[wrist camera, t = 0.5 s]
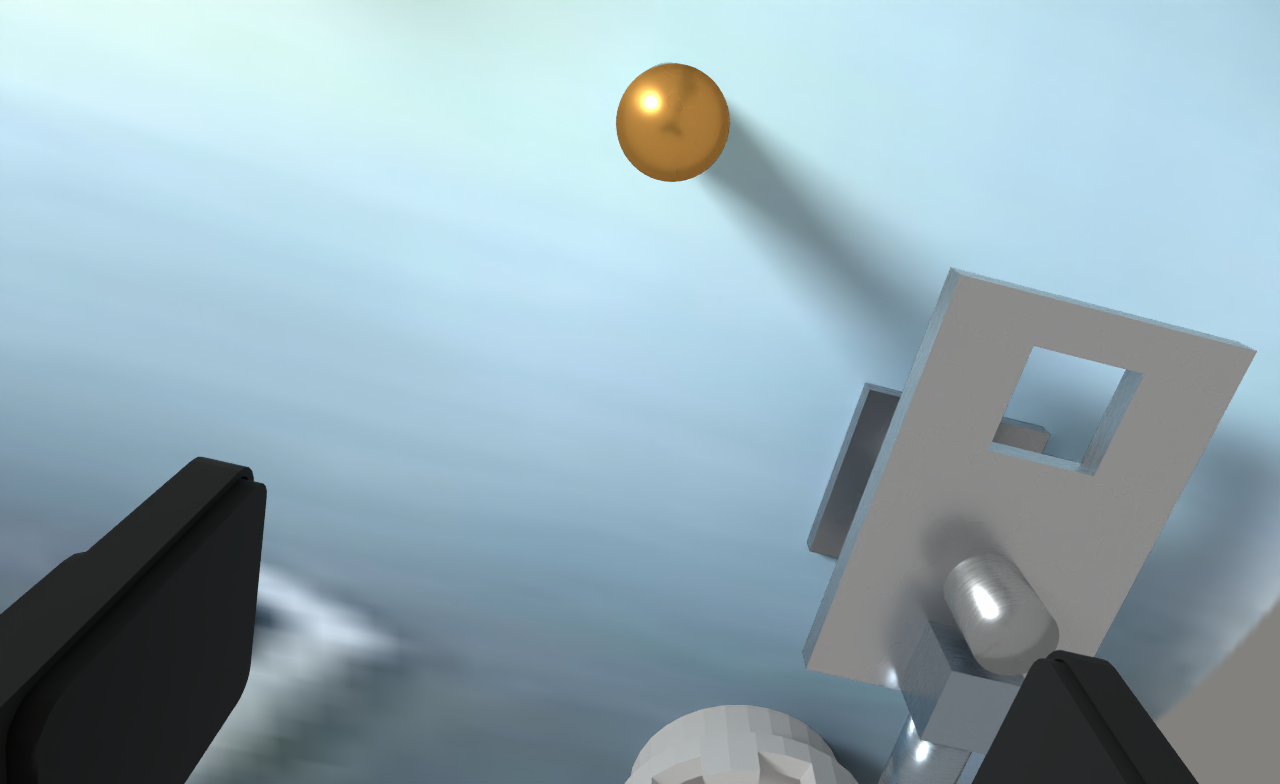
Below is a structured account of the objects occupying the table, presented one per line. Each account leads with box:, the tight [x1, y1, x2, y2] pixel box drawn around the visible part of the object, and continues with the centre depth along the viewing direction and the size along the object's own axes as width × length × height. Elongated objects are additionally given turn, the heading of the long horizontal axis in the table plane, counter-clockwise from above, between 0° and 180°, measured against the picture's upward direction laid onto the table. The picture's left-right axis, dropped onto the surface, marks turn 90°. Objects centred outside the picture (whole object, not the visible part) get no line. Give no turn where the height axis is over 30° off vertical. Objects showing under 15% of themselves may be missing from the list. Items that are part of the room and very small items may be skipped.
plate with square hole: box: [802, 268, 1257, 784], centre depth 33 cm, size 20×10×11 cm, turn 166°
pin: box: [616, 63, 729, 182], centre depth 27 cm, size 3×3×14 cm
